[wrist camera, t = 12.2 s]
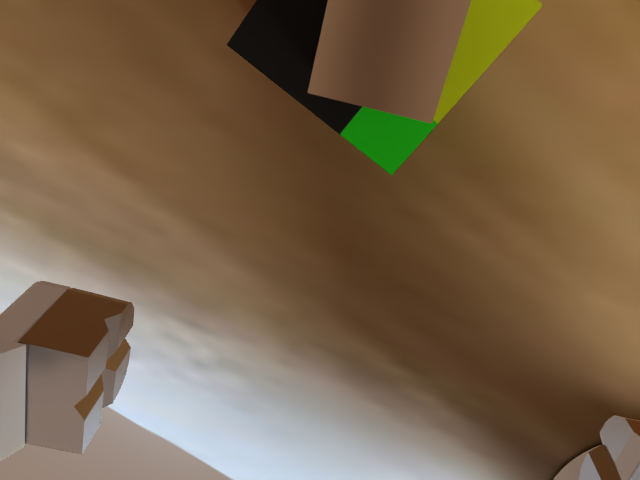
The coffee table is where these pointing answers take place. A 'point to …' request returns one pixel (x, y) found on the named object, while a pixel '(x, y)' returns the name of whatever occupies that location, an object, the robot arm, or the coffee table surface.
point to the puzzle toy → (356, 121)
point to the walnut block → (388, 53)
